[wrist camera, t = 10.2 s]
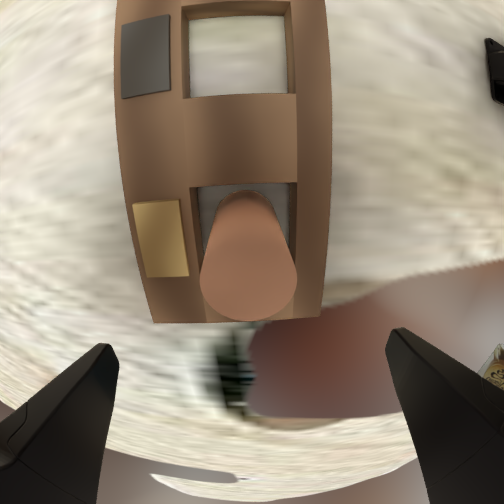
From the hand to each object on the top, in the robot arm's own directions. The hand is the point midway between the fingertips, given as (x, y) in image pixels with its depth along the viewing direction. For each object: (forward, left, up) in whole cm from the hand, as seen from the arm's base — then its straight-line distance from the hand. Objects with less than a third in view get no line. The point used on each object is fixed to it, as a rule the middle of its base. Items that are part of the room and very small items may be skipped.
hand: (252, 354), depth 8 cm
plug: (0, 0, -12) cm, 12 cm away
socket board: (+1, -6, -12) cm, 13 cm away
